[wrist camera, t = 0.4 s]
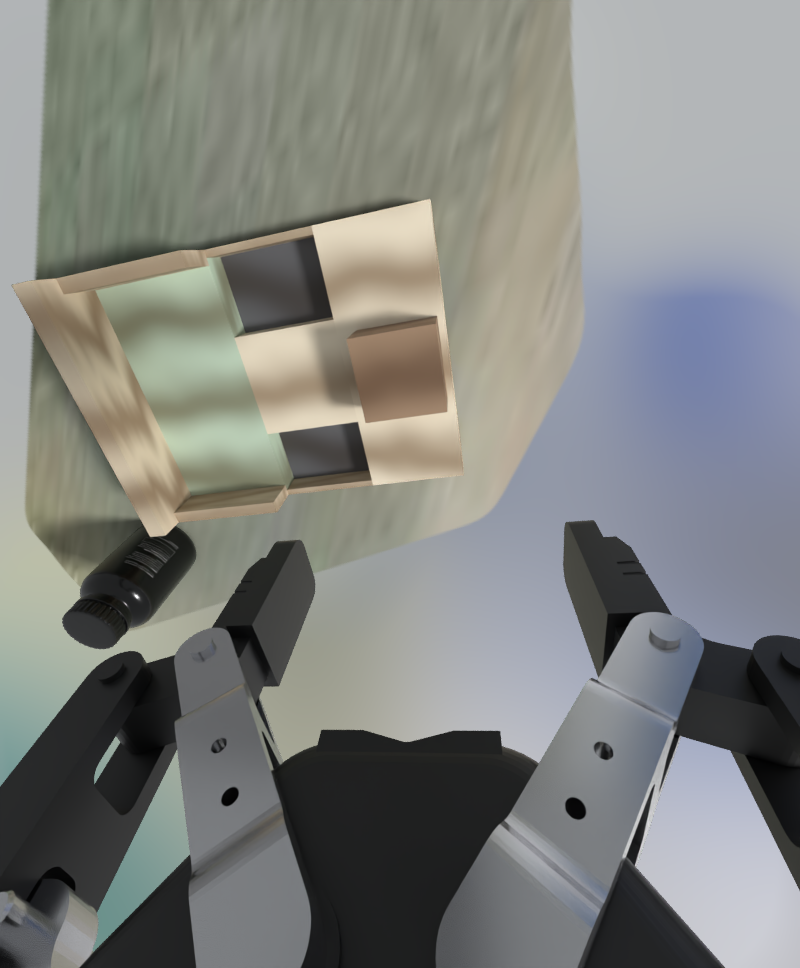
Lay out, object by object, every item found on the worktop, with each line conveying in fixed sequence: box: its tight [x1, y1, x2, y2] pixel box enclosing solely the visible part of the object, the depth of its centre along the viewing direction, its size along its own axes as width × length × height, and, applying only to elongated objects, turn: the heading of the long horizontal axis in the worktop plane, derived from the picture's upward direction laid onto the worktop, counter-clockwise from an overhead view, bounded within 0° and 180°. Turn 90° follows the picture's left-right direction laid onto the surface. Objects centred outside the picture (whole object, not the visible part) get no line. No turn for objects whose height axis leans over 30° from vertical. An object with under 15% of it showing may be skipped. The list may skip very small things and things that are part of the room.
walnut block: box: [346, 316, 448, 423], centre depth 31 cm, size 6×6×4 cm
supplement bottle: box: [62, 525, 196, 649], centre depth 42 cm, size 7×7×12 cm
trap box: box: [12, 199, 464, 537], centre depth 33 cm, size 20×27×8 cm
